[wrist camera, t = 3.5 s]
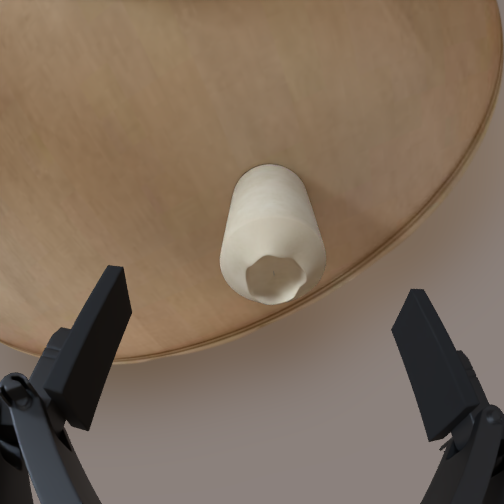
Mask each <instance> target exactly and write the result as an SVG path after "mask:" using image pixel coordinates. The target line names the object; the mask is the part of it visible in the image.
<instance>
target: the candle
mask: <svg viewBox="0 0 504 504" xmlns="http://www.w3.org/2000/svg"><path fill="white" fill-rule="evenodd" d="M325 266H326V252H325V248H324V244H323V241H322V238H321V234H320V231H319V228H318V225H317V222H316V219H315V215H314V212H313V209H312V206H311V203H310V200H309V197H308V194H307V191H306V189H305V186H304V184H303V182H302V181H301V179H300V178H299V177H298V176H297V175H296V174H295V173H294V172H292V171H291V170H289V169H287V168H285V167H283V166H279V165H272V164H268V165H261V166H258V167H255V168H253V169H251V170H249V171H248V172H246V173H245V174H244V175H243V176H242V177H241V178H240V180H239V181H238V183H237V185H236V187H235V189H234V192H233V196H232V201H231V206H230V210H229V215H228V220H227V224H226V229H225V234H224V239H223V244H222V249H221V254H220V267H221V271H222V274H223V276H224V278H225V280H226V282H227V283H228V285H229V286H230V287H231V288H232V289H233V290H234V291H236V292H237V293H238V294H240V295H241V296H243V297H245V298H247V299H249V300H252V301H255V302H259V303H263V304H266V305H275V304H280V303H285V302H289V301H292V300H295V299H298V298H300V297H302V296H303V295H305V294H307V293H308V292H309V291H310V290H312V289H313V288H314V287H315V286H316V285H317V283H318V282H319V281H320V279H321V277H322V275H323V273H324V270H325Z"/></svg>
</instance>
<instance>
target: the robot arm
mask: <svg viewBox="0 0 504 504" xmlns="http://www.w3.org/2000/svg"><path fill="white" fill-rule="evenodd" d="M131 314H132V309H131V305H130V300H129V295H128V290H127V284H126V279H125V273H124V268H123V267H120V266H110V265H108V266H107V268H106V269H105V271H104V273H103V274H102V276H101V278H100V279H99V281H98V283H97V284H96V286H95V288H94V289H93V291H92V293H91V294H90V296H89V298H88V300H87V301H86V303H85V305H84V307H83V308H82V310H81V312H80V314H79V316H78V317H77V319H76V321H75V323H74V325H73V327H72V328H71V329H67V328H62V327H61V328H60V329H59V330H58V331H57V332H55V333H54V334H53V335H52V337H51V338H50V340H49V342H48V344H47V347H46V348H45V349H44V351H43V353H42V356H41V357H40V359H39V361H38V363H37V365H36V367H35V369H34V371H33V373H32V375H31V377H30V379H29V380H28V379H27V377H25V376H24V375H23V374H21V373H10V374H8V375H7V376H5V377H4V378H3V379H2V380H1V382H0V504H33V499H32V493H31V488H30V481H29V475H30V478H31V481H32V483H33V485H34V488H35V491H36V493H37V496H38V498H39V500H40V503H41V504H102V503H101V502H100V500H99V498H98V496H97V495H96V493H95V491H94V489H93V487H92V485H91V483H90V482H89V480H88V478H87V476H86V474H85V472H84V470H83V468H82V466H81V464H80V461H79V459H78V457H77V455H76V453H75V451H74V448H73V446H72V444H71V442H70V439H69V437H68V434H67V432H66V430H65V428H64V424H65V421H66V420H67V421H68V422H69V424H70V425H71V426H73V427H76V428H79V429H82V430H86V431H89V429H90V426H91V423H92V420H93V417H94V413H95V410H96V407H97V404H98V401H99V399H100V396H101V393H102V390H103V387H104V384H105V381H106V378H107V376H108V373H109V370H110V367H111V365H112V362H113V360H114V357H115V354H116V352H117V349H118V347H119V344H120V341H121V339H122V336H123V334H124V331H125V329H126V326H127V324H128V321H129V319H130V317H131ZM391 330H392V333H393V336H394V338H395V341H396V343H397V346H398V349H399V351H400V354H401V357H402V359H403V362H404V365H405V368H406V371H407V374H408V377H409V380H410V382H411V385H412V388H413V391H414V394H415V397H416V401H417V404H418V407H419V410H420V413H421V416H422V420H423V423H424V426H425V430H426V433H427V437H428V440H429V442H431V441H435V440H440V439H443V438H444V437H445V436H447V435H448V434H449V433H450V432H451V433H452V438H451V439H450V440H449V441H447V442H446V443H445V444H444V445H442V446H441V448H440V449H439V450H440V451H441V450H442V449H443V448H445V447H446V446H447V447H446V450H445V451H444V455H443V457H442V460H441V462H440V464H439V466H438V469H437V471H436V473H435V475H434V477H433V479H432V482H431V484H430V486H429V488H428V490H427V492H426V494H425V496H424V498H423V500H422V502H421V503H420V504H504V414H503V413H502V411H501V410H500V409H499V408H498V407H497V406H495V405H490V404H489V403H488V400H487V398H486V396H485V393H484V391H483V389H482V387H481V384H480V382H479V380H478V378H477V377H476V374H475V371H474V370H473V367H472V366H471V363H470V361H469V359H468V358H467V357H466V355H465V354H464V353H463V352H462V351H461V350H460V351H456V349H455V347H454V345H453V343H452V341H451V339H450V337H449V335H448V333H447V331H446V329H445V327H444V325H443V323H442V322H441V320H440V318H439V316H438V314H437V312H436V310H435V309H434V307H433V305H432V303H431V301H430V300H429V298H428V296H427V294H426V293H425V291H424V290H423V289H411V290H410V292H409V294H408V296H407V299H406V301H405V303H404V305H403V307H402V309H401V311H400V313H399V315H398V317H397V319H396V321H395V324H394V325H393V327H392V329H391ZM28 473H29V475H28Z"/></svg>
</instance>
